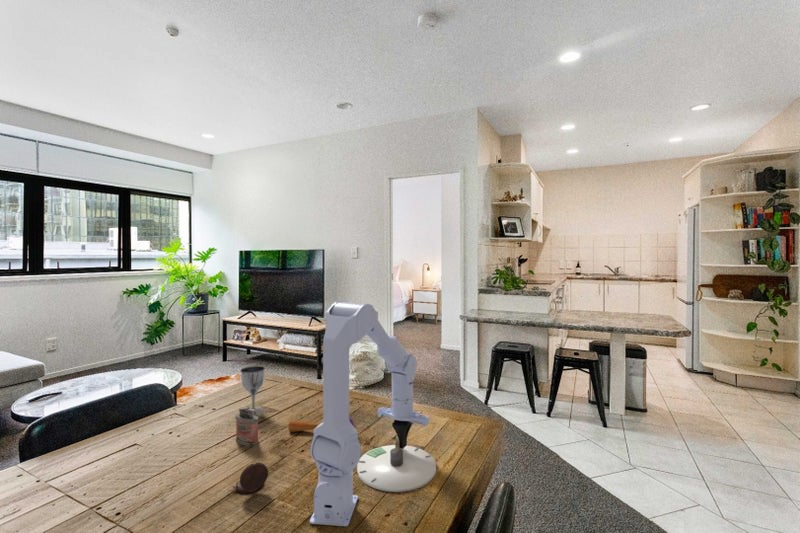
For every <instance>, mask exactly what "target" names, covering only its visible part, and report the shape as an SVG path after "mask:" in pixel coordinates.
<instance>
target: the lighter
mask: <svg viewBox="0 0 800 533" xmlns="http://www.w3.org/2000/svg"><path fill="white" fill-rule="evenodd" d="M250 408H251V407H250V406H246V407H243V406H242V407H241V406H240V407H239V410H238V412H239V413H237V414H236V415H235V416H234V417H235V419H236V420H235V421H236V422H235V426H236V427H235V428H236V430H235V432H236V433H235V434H236V437H235V442H236V443H238V444H240V445H243V446H247V447H255V446H258V445H259V444H260V440H259V419H260V418H259V417H258V415H256V410H254V409H250ZM254 415H255V416H254Z"/></svg>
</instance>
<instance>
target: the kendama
mask: <svg viewBox="0 0 800 533" xmlns="http://www.w3.org/2000/svg"><path fill="white" fill-rule="evenodd" d="M349 421H350V423H351V424H352V425H353V427H354V420H353V419H352V417H351V416H349ZM319 424H320V423H316V422H314V423H313V422H307V421H306V422H305V421H297V420H289V423H288V432H289V433H294V432H302V431H310V430H314V429H315V428H316V427H317V426H318V425H319ZM354 428H355V427H354Z"/></svg>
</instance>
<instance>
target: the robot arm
mask: <svg viewBox="0 0 800 533" xmlns="http://www.w3.org/2000/svg"><path fill="white" fill-rule="evenodd" d="M365 336H367V337H368V338H370V339H371V341H373V342H374V343H375V345H376V351H377V354H379V355H380V356H381V357H382V359H383V360H384V361H385V363H386V369H387V371H388V372H390V373H391V407H383V406H382V407H379V408H378V409H377V417H379V418H382V417H384V418H388V419H389V418H390V419H392V420H393V422H392V424H391V425H392V428H393V430H394V431H395V433H396V435H397V436H398V439H399V446H400V448H402V449H403V448H405V447H406V446H408V445H407V443H408V441H407V440H408V435H409V432H410V430H411V427H412V425H413V424H417V425H421V426H422V427H425V428H426V427H427V426H428V425H429V424H430V417H429V416H427V415H423V414H421V413H419V412H417V411H415V410H414V381H415V378H416V372H417V371H416V370H417V369H418V368H417V367H418V361H417V358H416V357H415V356H414V355H413V353H410V352H407V350H406V348H405V347H404V346H403V345H402V344H401V342H399V338H398V337H397V336H396V335H395V336H394V335H389V334H388V332H386V330H385V328H384V327H383V326H382V324H381V322H380V321H379V312H378V311H377V310H376V309H375V307H374V306H373V305H372V304H370V303H355V302H343V301H335V302H333V303H332V304H331V305H330V306H329V308H328V309H327V310H326V311H325V331H324V335H323V342H322V354H323V355H322V357H323V358H322V359H323V360H322V364H323V365H322V370H323V371H322V373H323V374H322V377H323V378H322V380H323V381H322V382H323V383H322V388H323V389H322V390H323V393H322V394H323V395H322V396H323V398H322V400H323V402H322V405H323V407H322V408H323V409H322V415H323V417H322V422H321V423H318V424H319V425H318V426H317V427H316V428H315V429H313V437H312V441H311V445H310V449H309V451H310V456H311V458H312V459H313V460H314V461H315V467H316V468H318V481H317V484H316V487H315V489H314V494H313V513H312V515H311V517H310V519H309V524H311V525H324V526H337V527H348V526H349V524H350V522H351V518H352V516H353V513H354V510H355V507H356V505H357V502H358V500H359V496H358V495H357V494H354V488H353V487H354V486H353V485H354V483H353V482H354V480H353V479H354V477H353V476H354V475H353V473H354V471H353V470H354V469H355V468H357V464H358V462H359V459H360V458H361V453H362V450H361V444H360V441H359V432H358V431H357V430H356V428H355V427H353V425H352V424H351V423H350V421H349V417H350V348H351V347H352V346H353V345H355V344H356V343H358V342H359V341H361V340H362V339H363V338H364V337H365Z"/></svg>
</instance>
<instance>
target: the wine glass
mask: <svg viewBox="0 0 800 533" xmlns="http://www.w3.org/2000/svg"><path fill="white" fill-rule="evenodd" d="M265 377H266V367H265V366H263V365H250V366H245V367H243V368H241V369H240V381H241V385H242V387H243V389H244V390H246V391H247V393H249V394H250V396H251V397H250V398H251V407H249V408H250V409H254V410H256V415H254V416H258V415H260V414H263V413H264V412H265V409H264V407H263V408H262V407H255V406H256V405H255V401H256V395H257V393H258V392H259V390H260V389H261V387H262V386H263V384H264V382H265Z"/></svg>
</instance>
